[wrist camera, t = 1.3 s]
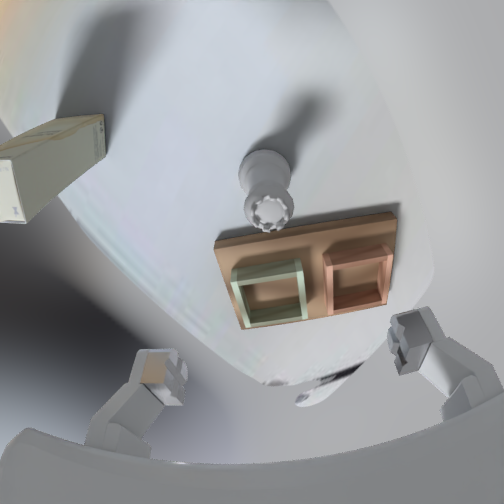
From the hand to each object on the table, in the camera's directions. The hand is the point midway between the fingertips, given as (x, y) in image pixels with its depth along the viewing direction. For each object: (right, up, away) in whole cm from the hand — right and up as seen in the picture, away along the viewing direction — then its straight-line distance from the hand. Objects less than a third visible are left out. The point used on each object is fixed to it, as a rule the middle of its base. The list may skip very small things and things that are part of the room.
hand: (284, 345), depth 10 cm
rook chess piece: (0, +10, +14) cm, 18 cm away
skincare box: (-17, +14, +12) cm, 25 cm away
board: (+5, +1, +21) cm, 21 cm away
